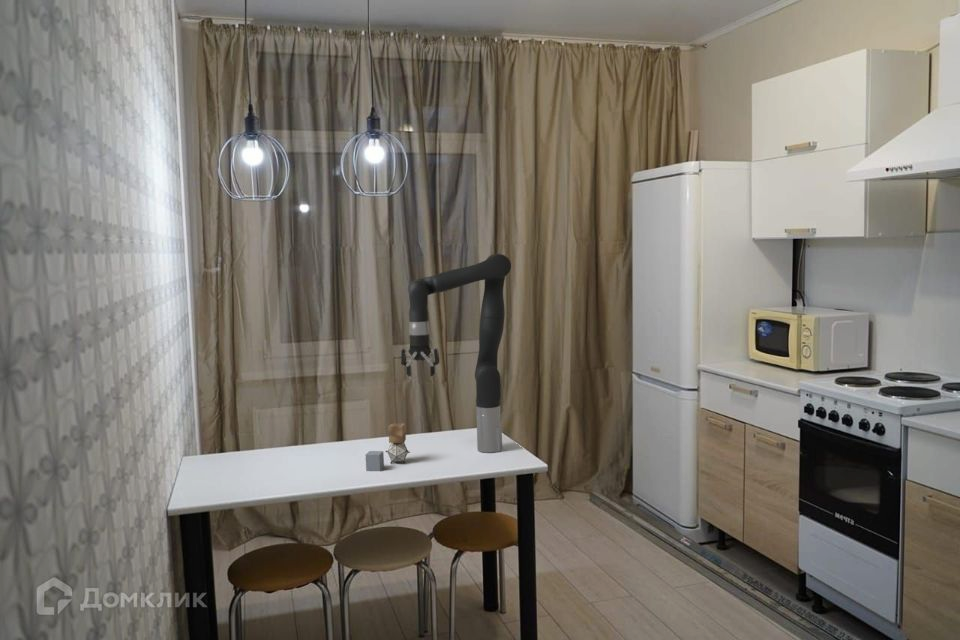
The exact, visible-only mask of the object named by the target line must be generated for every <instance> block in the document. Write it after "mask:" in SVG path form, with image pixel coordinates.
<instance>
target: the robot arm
mask: <svg viewBox="0 0 960 640" xmlns="http://www.w3.org/2000/svg"><path fill="white" fill-rule="evenodd" d="M511 269H512V261H511V260H510V258H509V257H507V256H506V255H504V254H502V253H492V254H490V255H489V256H488V257H487V258H486V259H485V260H483V261H481V262H478V263H476V264H473V265H469V266H463V267H459V268H454V269H449V270H447V271H442V272H440V273H436V274H433V275H432V276H427V277H422V278H417V279H414V280H412V281H410V282H409V284H408V286H407V293H408V296H409V299H408V300H409V309H408V310H409V311H408V312H409V314H408V317H409V319H408V320H409V323H408V326H409V327H408V333H409V336H408V337H409V349H408V348H402V349H401V351H400V352H401V357H400V358H401V361H400V365H402V366H405V367H406V375H407V376H408V377H412V366H411V365H412V364H413V362H414V361H426V362H427V363H428V364H429V369H430V371H429V373H430V374H429V375H430V377H434V375H435V374H436V366H437V365H439V364H440V362H441V361H440V353H439V348H438V347H435V348H431V341H430V324H429V311H428V310H429V309H428V303H429V302H428V296H430V295H432V294H437V293H438V294H439V293H443V292H448V291H450V290H454V289H457V288H460V287H463V286H466V285H469V284H472V283H476V282H479V281H484V290H483V296H482V297H483V298H482V300H481V301H482V302H481V309H480V315H479V316H480V317H479V327H478V331H479V333H478V342H479V343H478V355H477V362H476V367H475V370H474V379H475V383H476V384H475V387H476V390H475V391H476V393H475V394H476V398H475V406H476V407H475V409H476V410H475V411H476V439H477V441H476V442H477V443H476V445H477V446H476V447H477V451H478V452H480V453H497V452H498V453H499V452H501V451H502V449H503V425H502V421H501V417H502V416H501V399H502V397H501V394H502V393H501V385H502V384H501V382H502V380H501V373H500V371H499V370H498V353H499V347H500V344H501V340H502V337H503V333H504V327H505V315H506V312H505V311H506V309H505V301H504V299H505V298H504V285H505V280H506V277H507V276H508V274H509V273H510V272H511ZM431 353H432V355H434V360H433V359H432V357H431V356H430V354H431ZM408 354H409V355H410V358H409V359H408V361H407V355H408Z"/></svg>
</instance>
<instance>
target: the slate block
mask: <svg viewBox="0 0 960 640" xmlns="http://www.w3.org/2000/svg"><path fill="white" fill-rule="evenodd" d="M384 456H385V455H384V450H369V451H368V452H367V453H366V454H365V469H366V470H365V472H381V471H382V470H383V469H384V468H385V459H384V458H385V457H384ZM383 467H384V468H383ZM382 468H383V469H382ZM381 469H382V470H381ZM380 470H381V471H380Z"/></svg>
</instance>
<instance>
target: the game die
mask: <svg viewBox="0 0 960 640" xmlns="http://www.w3.org/2000/svg"><path fill="white" fill-rule="evenodd" d="M405 442H406V440H405V441H404V442H403V443H390V445H389V446H388V447H389V448H388V449H387V450H385V453H387V454H388V457H389V458H390V464H392V463H393V462H394V463H395V462H396V463H397V462H399V463H400V462H403V463H404V464H405V463H406V458H407V456H408V455H409V453H411V452H410V451H409V450H408V449H407V446H406V444H405Z"/></svg>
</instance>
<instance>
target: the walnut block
mask: <svg viewBox="0 0 960 640" xmlns="http://www.w3.org/2000/svg"><path fill="white" fill-rule="evenodd" d="M387 429H388V443H389V444H391V443H403V442H404V441H405V442H406V440H407V435H406V433H407V432H406V423H403V422H402V423H396V422H395V423H391V424H389V426H388V428H387ZM405 442H404V443H405Z"/></svg>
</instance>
